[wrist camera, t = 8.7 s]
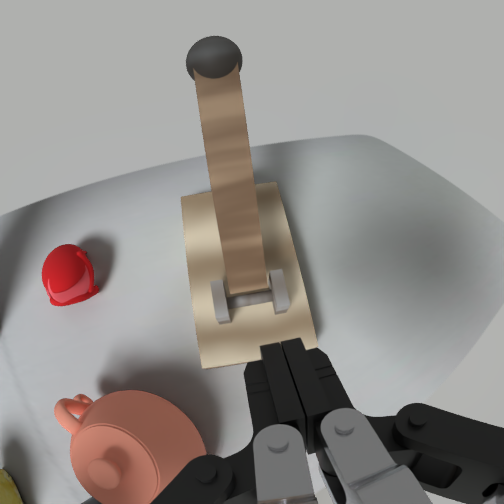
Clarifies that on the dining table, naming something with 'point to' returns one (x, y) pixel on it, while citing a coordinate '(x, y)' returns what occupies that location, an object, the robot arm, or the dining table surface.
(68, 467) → the dining table surface
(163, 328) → the dining table surface
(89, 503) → the wine bottle
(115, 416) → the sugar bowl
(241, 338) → the nutcracker base
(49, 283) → the red helmet
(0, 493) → the chocolate bunny
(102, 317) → the dining table surface
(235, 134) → the lever
